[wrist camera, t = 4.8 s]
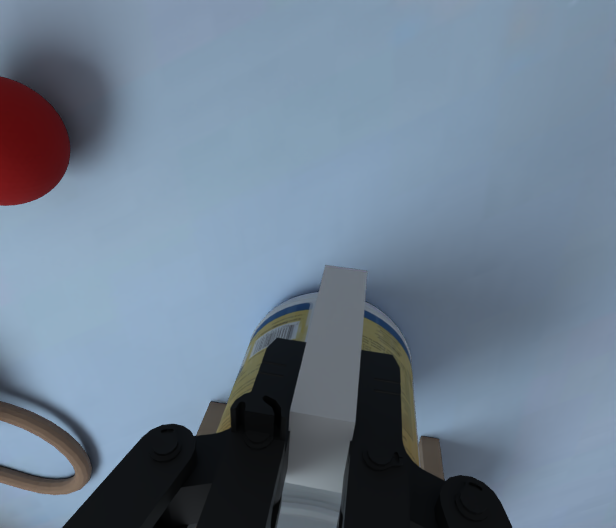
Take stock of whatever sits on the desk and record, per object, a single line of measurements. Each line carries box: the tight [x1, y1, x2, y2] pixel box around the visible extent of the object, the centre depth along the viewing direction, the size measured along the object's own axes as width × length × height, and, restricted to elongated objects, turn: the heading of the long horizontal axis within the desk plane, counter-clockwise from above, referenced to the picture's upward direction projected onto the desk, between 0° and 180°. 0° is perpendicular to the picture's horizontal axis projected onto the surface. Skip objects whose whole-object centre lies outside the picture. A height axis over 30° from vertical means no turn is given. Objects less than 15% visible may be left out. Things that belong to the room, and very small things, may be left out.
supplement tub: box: [216, 292, 420, 528], centre depth 27 cm, size 12×12×17 cm
